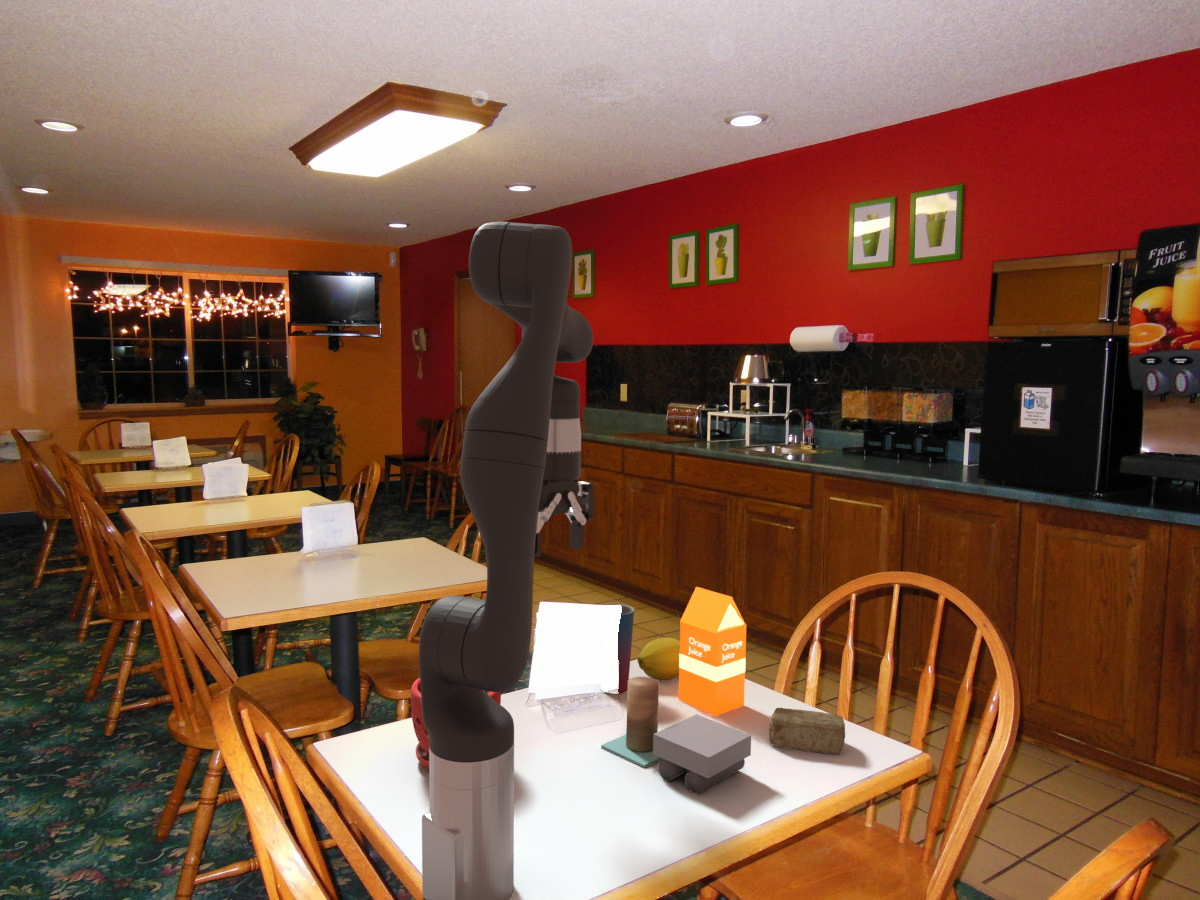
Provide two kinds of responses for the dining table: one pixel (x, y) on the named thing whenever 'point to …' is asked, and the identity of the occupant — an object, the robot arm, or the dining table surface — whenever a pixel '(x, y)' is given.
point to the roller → (642, 713)
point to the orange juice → (712, 653)
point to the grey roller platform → (700, 751)
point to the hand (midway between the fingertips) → (555, 552)
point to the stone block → (807, 730)
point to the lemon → (661, 659)
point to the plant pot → (418, 723)
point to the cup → (624, 645)
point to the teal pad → (630, 752)
